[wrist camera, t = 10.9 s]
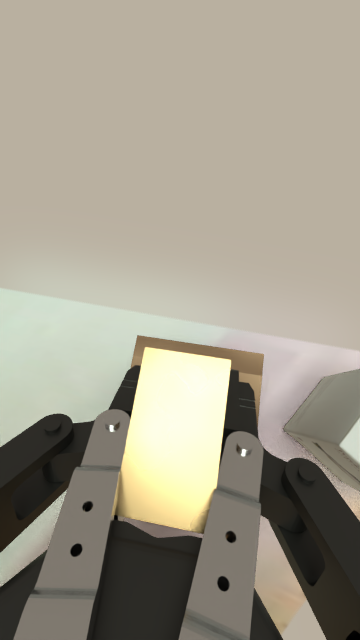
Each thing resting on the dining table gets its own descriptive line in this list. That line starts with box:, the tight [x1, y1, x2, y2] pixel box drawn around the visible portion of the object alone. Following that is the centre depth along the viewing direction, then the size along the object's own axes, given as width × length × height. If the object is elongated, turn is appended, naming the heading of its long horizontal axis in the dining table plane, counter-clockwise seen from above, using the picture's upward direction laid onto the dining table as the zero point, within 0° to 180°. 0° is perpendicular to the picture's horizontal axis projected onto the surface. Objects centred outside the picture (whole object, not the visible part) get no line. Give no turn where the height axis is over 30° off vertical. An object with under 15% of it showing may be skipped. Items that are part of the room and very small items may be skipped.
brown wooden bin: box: [131, 335, 264, 427], centre depth 25 cm, size 10×9×12 cm
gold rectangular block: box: [114, 347, 231, 534], centre depth 13 cm, size 4×3×10 cm, turn 171°
